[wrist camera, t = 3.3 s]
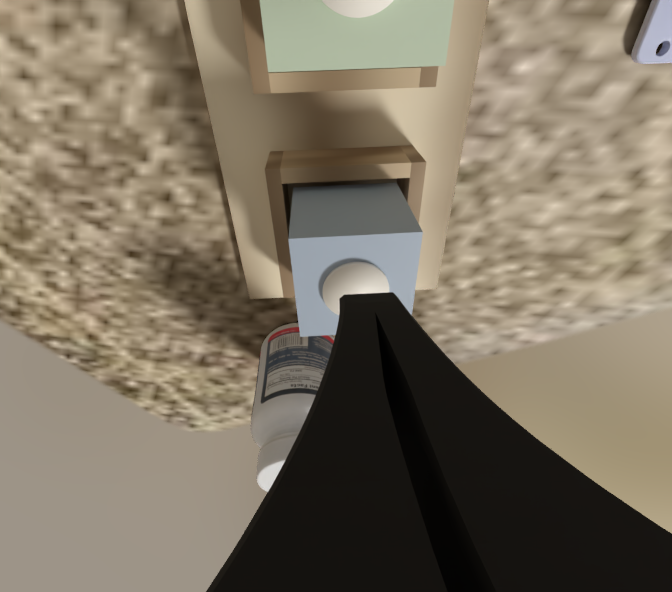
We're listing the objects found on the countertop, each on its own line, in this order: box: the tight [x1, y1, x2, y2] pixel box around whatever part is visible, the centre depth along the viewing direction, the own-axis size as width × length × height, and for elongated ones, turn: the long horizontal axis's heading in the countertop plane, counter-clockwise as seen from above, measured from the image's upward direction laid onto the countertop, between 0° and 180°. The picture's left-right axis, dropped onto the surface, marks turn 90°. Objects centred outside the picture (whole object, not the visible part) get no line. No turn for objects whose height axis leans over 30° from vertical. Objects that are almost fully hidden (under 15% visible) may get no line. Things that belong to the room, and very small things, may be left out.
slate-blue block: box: [288, 183, 423, 337], centre depth 15 cm, size 4×4×5 cm
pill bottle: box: [251, 323, 335, 492], centre depth 21 cm, size 5×5×9 cm
